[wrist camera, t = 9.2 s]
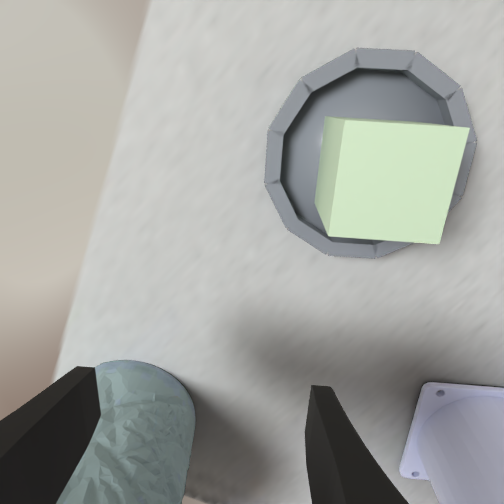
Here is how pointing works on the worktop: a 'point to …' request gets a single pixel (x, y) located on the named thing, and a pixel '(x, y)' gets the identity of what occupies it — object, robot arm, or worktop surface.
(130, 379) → the teal plant pot
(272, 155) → the dish
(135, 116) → the worktop surface
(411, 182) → the block
